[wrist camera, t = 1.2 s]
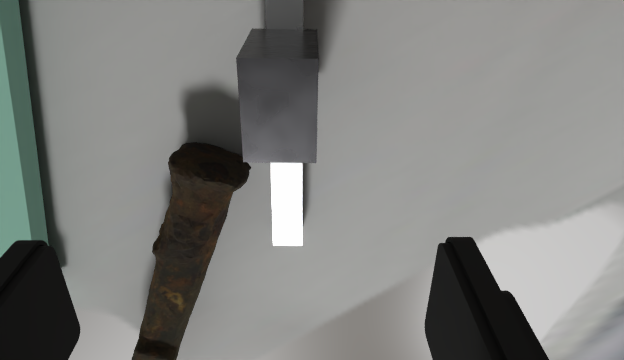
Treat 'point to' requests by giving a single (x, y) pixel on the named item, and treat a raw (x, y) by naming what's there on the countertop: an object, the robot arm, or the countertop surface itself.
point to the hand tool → (187, 242)
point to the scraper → (281, 109)
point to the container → (17, 140)
